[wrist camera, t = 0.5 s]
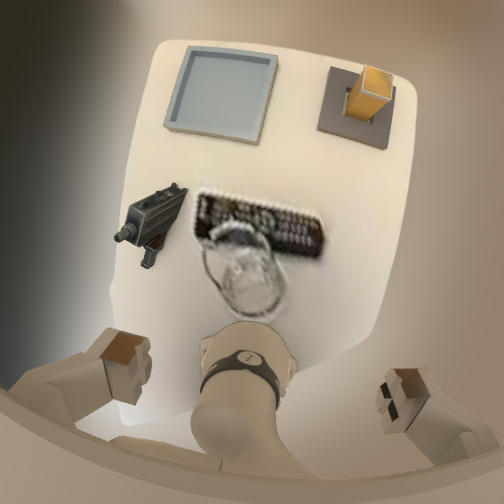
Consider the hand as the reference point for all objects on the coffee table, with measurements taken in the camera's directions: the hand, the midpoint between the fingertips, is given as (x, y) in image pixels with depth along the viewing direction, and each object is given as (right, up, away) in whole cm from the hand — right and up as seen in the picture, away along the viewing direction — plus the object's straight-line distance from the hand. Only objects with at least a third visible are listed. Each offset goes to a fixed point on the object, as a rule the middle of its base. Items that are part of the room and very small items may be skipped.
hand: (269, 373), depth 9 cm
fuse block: (+17, +29, +36) cm, 49 cm away
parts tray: (-5, +31, +38) cm, 49 cm away
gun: (-16, +9, +43) cm, 47 cm away
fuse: (+17, +29, +36) cm, 49 cm away
